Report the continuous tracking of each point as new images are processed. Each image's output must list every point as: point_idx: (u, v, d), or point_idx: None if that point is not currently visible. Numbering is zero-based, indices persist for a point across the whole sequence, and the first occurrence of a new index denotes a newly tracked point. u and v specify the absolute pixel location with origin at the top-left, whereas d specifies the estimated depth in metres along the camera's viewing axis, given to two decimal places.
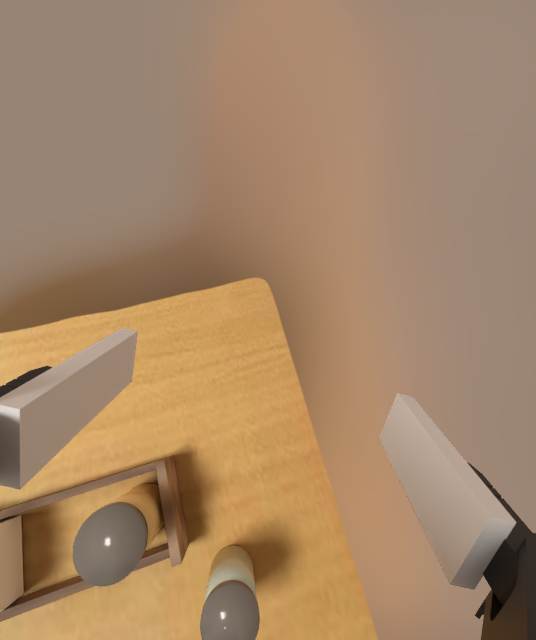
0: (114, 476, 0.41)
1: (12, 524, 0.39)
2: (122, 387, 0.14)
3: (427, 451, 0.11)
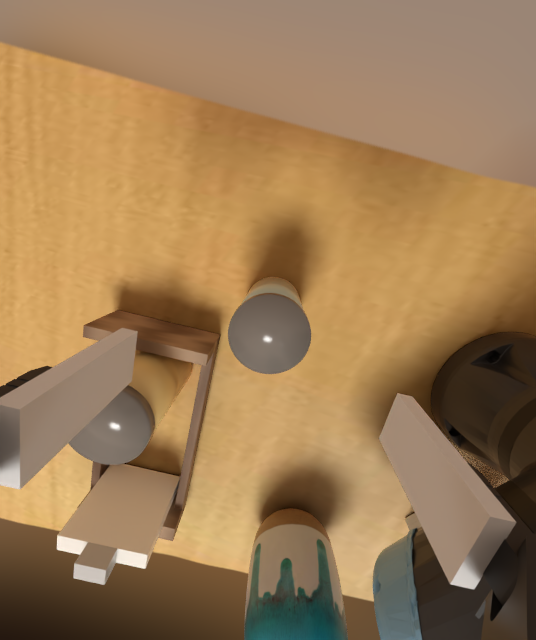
0: None
1: (110, 472, 0.37)
2: (122, 387, 0.14)
3: (427, 451, 0.11)
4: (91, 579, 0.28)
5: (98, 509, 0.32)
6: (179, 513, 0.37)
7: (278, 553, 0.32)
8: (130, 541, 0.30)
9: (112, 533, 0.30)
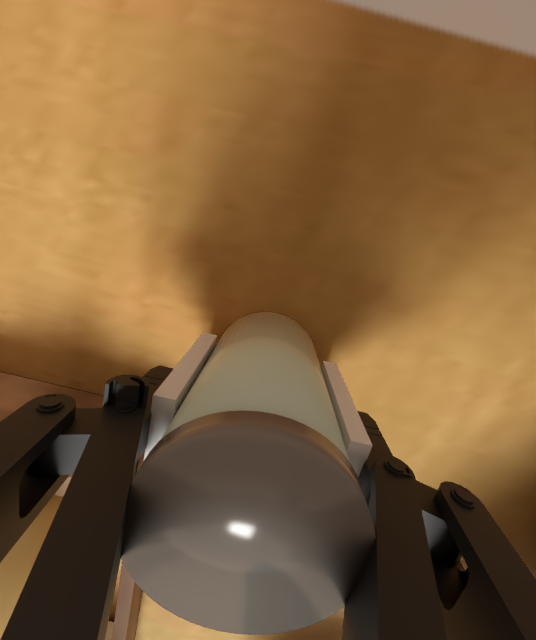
0: None
1: None
2: None
3: None
4: None
5: None
6: None
7: None
8: None
9: None
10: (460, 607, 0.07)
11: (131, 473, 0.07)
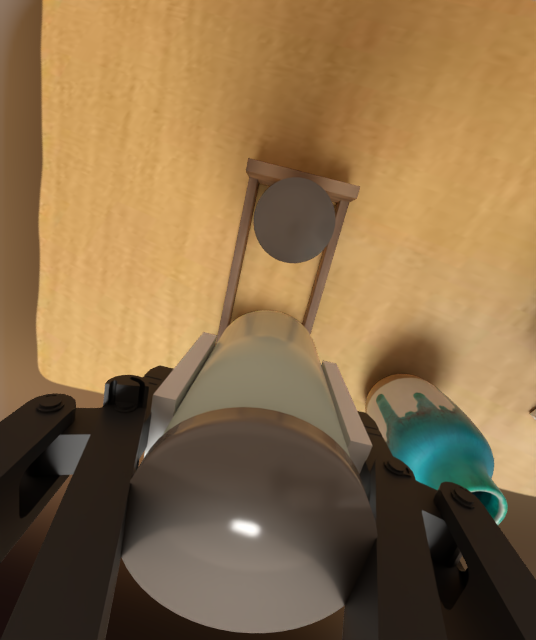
0: (239, 234, 0.35)
1: None
2: None
3: None
4: None
5: None
6: None
7: (406, 391, 0.35)
8: None
9: None
10: (460, 607, 0.07)
11: (131, 473, 0.07)
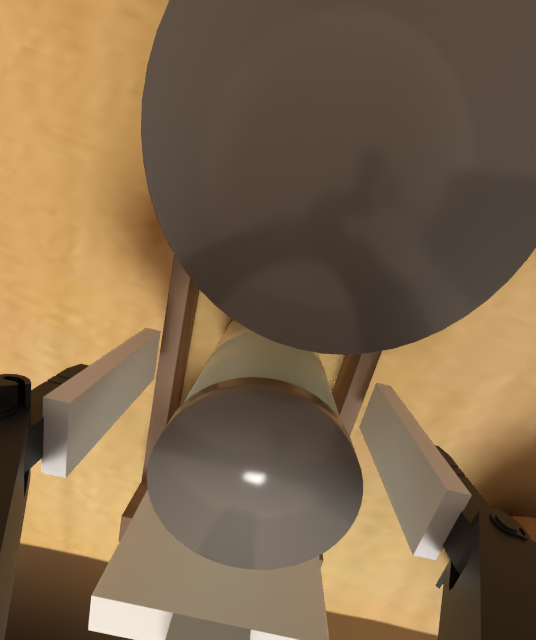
0: None
1: None
2: (146, 384, 0.14)
3: (399, 435, 0.12)
4: None
5: None
6: None
7: None
8: (274, 605, 0.12)
9: (225, 583, 0.12)
10: None
11: (14, 482, 0.06)
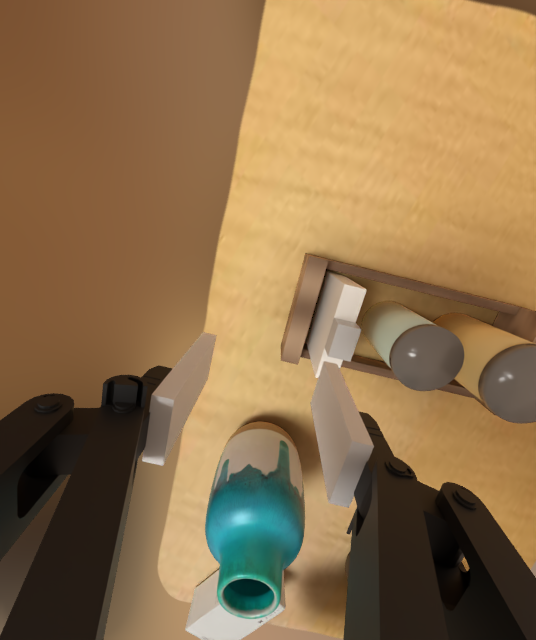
0: (463, 295, 0.33)
1: None
2: (203, 384, 0.15)
3: (331, 403, 0.13)
4: (335, 343, 0.25)
5: None
6: None
7: (299, 472, 0.34)
8: None
9: None
10: (461, 608, 0.07)
11: (129, 473, 0.07)
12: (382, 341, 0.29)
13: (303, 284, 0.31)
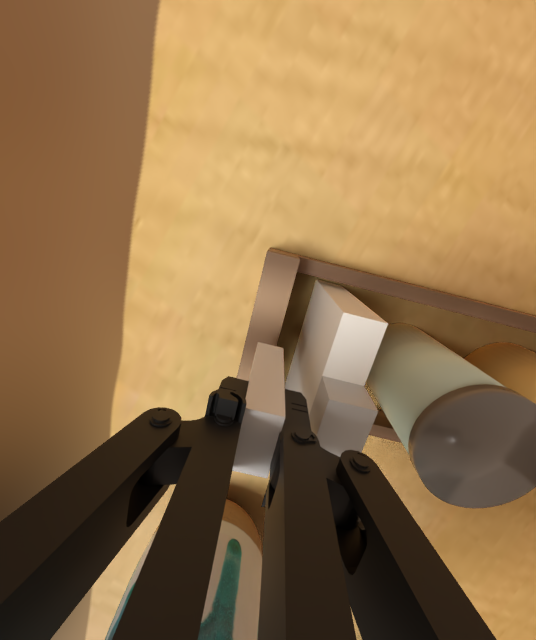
0: (525, 318, 0.20)
1: None
2: None
3: None
4: (324, 436, 0.12)
5: None
6: None
7: (257, 596, 0.21)
8: None
9: None
10: (361, 571, 0.07)
11: (227, 488, 0.07)
12: (394, 403, 0.17)
13: (258, 299, 0.18)
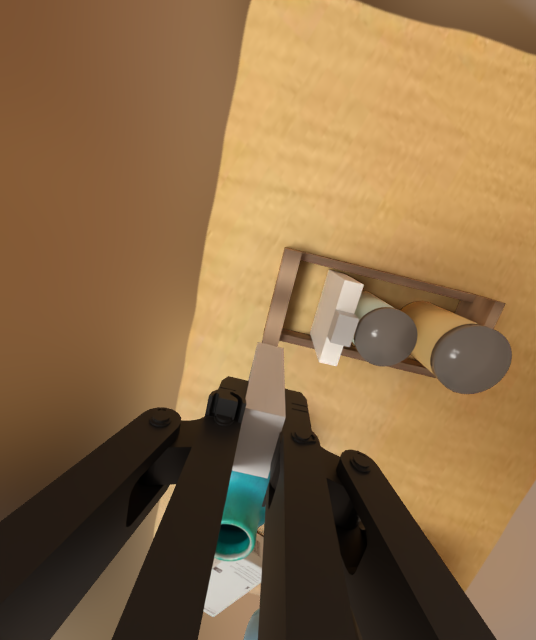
0: (425, 284, 0.36)
1: None
2: None
3: None
4: (337, 331, 0.28)
5: None
6: None
7: None
8: None
9: None
10: (361, 571, 0.07)
11: (227, 488, 0.07)
12: None
13: (280, 274, 0.34)
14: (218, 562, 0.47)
